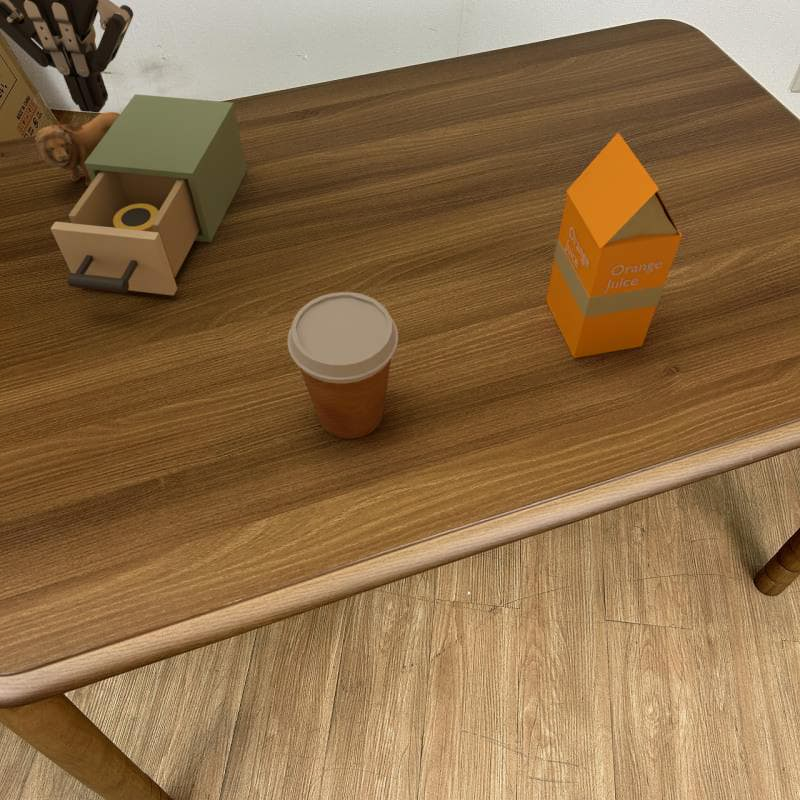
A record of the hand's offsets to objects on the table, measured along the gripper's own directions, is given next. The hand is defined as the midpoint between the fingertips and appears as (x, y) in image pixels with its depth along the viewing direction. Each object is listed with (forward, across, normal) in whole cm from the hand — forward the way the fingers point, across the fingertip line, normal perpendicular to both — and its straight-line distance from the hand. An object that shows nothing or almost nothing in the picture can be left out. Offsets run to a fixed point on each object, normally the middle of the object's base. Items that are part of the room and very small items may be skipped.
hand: (94, 107), depth 72 cm
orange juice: (+19, +51, -2) cm, 55 cm away
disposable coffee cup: (+19, +28, -18) cm, 39 cm away
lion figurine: (+19, -12, +15) cm, 27 cm away
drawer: (+18, 0, -2) cm, 18 cm away
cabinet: (+19, 0, +11) cm, 22 cm away
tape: (+17, 0, 0) cm, 17 cm away
